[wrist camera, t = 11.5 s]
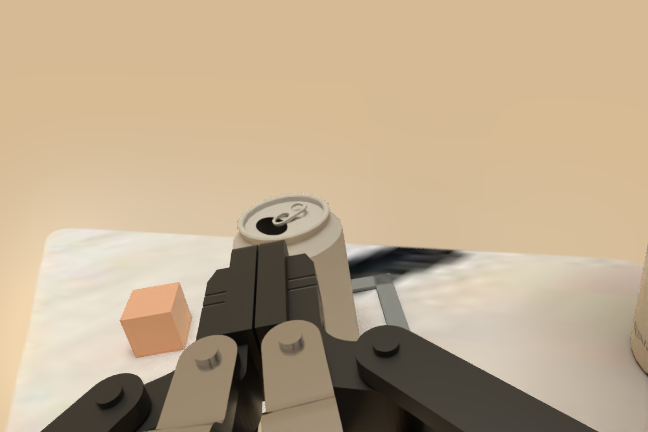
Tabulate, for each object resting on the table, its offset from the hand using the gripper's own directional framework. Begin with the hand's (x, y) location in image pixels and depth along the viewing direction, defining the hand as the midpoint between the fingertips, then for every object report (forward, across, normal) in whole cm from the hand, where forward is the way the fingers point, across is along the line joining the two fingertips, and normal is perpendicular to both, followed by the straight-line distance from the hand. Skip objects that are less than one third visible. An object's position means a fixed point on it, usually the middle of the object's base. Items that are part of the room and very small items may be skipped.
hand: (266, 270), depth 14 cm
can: (+17, +1, +20) cm, 26 cm away
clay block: (+21, +13, +19) cm, 32 cm away
